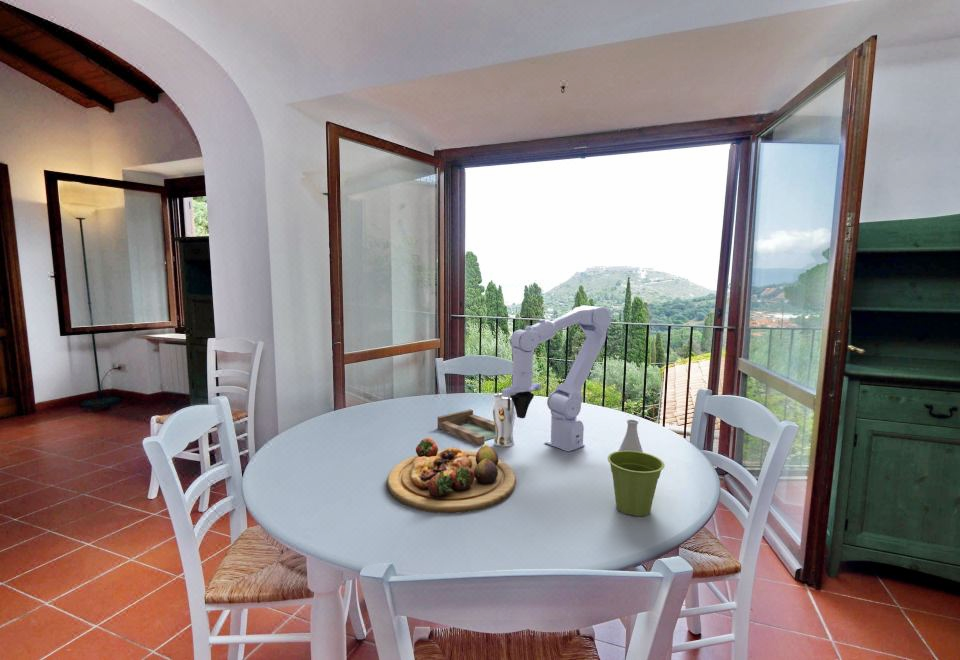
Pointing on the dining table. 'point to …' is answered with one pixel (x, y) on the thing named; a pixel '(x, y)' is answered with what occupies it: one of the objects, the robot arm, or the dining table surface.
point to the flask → (631, 438)
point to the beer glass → (503, 420)
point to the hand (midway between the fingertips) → (521, 417)
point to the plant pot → (634, 480)
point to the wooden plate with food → (451, 479)
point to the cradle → (468, 426)
